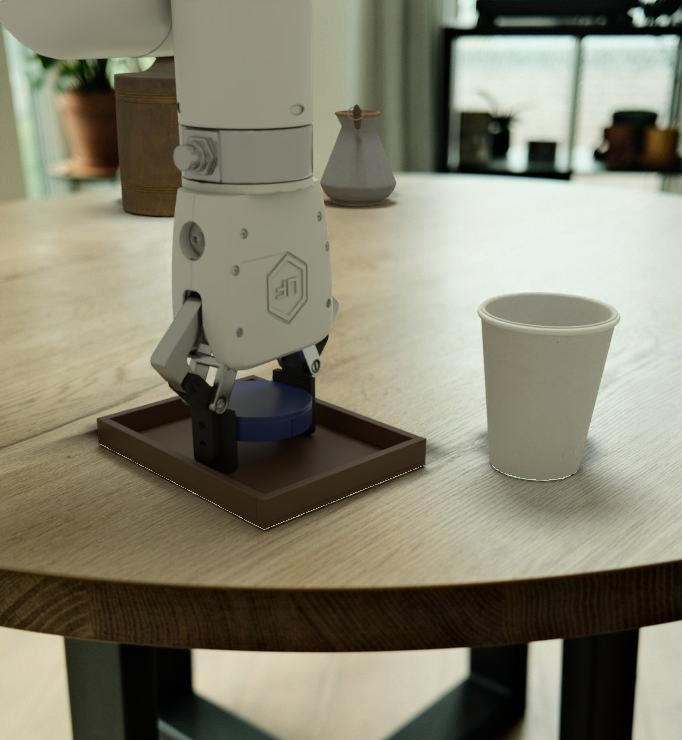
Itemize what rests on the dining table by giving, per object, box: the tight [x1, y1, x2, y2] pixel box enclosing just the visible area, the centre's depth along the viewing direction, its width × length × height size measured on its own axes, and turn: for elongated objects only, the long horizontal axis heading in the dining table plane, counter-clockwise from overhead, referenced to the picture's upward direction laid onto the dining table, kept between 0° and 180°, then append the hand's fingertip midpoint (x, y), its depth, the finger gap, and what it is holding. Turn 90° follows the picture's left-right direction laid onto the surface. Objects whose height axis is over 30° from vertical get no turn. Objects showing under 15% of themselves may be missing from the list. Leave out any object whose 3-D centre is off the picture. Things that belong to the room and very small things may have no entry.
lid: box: [227, 380, 312, 442], centre depth 64 cm, size 7×7×2 cm
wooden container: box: [113, 56, 183, 217], centre depth 145 cm, size 15×15×22 cm
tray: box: [96, 374, 427, 529], centre depth 65 cm, size 17×13×2 cm
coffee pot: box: [319, 103, 397, 207], centre depth 147 cm, size 21×12×15 cm, turn 178°
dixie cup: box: [476, 291, 621, 480], centre depth 63 cm, size 8×8×10 cm
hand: (256, 445), depth 66 cm, fingers closed on lid, 7 cm apart
